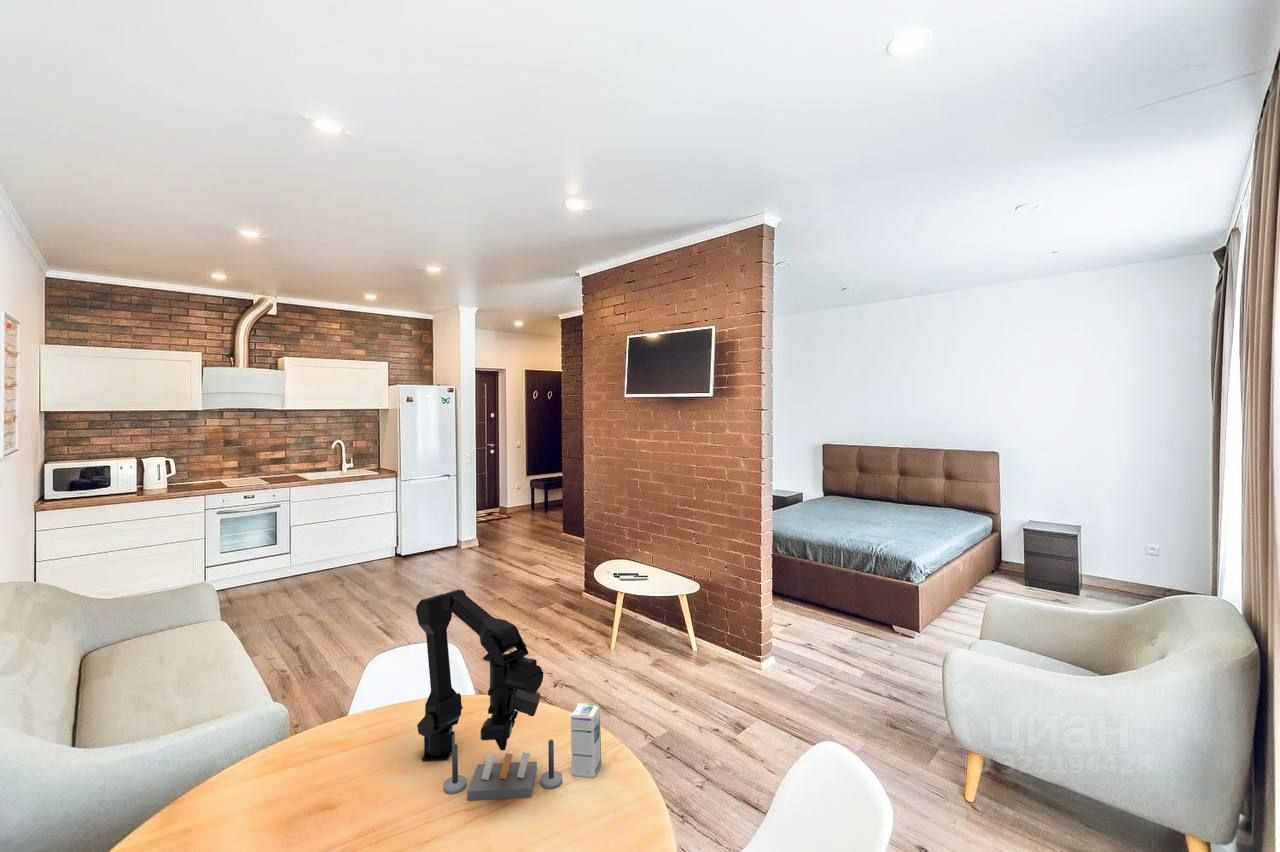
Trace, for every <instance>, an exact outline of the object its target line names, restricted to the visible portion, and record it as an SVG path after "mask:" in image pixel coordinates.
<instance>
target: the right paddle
mask: <svg viewBox="0 0 1280 852" xmlns="http://www.w3.org/2000/svg"><path fill="white" fill-rule="evenodd" d="M530 754H531V753H529V752H525V751H523V752H522V756H521V759H520V761H519V762H520V766H519V770H518V774H517V777H519V778H524V775H525V771H526V767H527V763H528V762H529V758H530Z"/></svg>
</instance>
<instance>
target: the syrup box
mask: <svg viewBox="0 0 1280 852" xmlns="http://www.w3.org/2000/svg"><path fill="white" fill-rule="evenodd" d="M600 707H601V706H600V705H598V704H594V703H578V704H577V706H576V707H575V708H574V710H573V712H572V713H571V714H570V739H571V741H570V742H571V743H570V744H571V746H570V747H571V774H572V776H576V777H583V778H591V779H592V778H593V779H594V778H596V775H597V774H598V772H599V770H600V767H601V765H602V748H601V747H602V741H601V739H602V738H601V711H600V710H601V708H600Z"/></svg>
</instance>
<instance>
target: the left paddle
mask: <svg viewBox="0 0 1280 852" xmlns="http://www.w3.org/2000/svg"><path fill="white" fill-rule="evenodd" d="M495 758H496V755H495V754H492V753H488V755H487V758H486V761H485V763H484V764H485V767H484V770H483V774H482V778H481V779H485V780H488V779H489V777H490V774H491V770H492V767H493V764H495Z"/></svg>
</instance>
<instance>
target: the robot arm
mask: <svg viewBox="0 0 1280 852" xmlns="http://www.w3.org/2000/svg"><path fill="white" fill-rule="evenodd" d="M415 614H416V617H417V623H418V626H419V627H420V628H421V630H423V631H424V632H425V633H424V634H425V637H426V648H427V660H428V671H429V685H430V693H429V695H428V698H427V700H426V702H425V704H424V705H425V707H424V708H425V709H424V716H423V718H422V719H421V720H420V721H419V722H418V723H417V725H416V728H417V732H418V734H419V735H421V736H423V737H424V738H423V740H424V741H423V747H424V748H423V751H424V753H423V756H422V757H421V761H424V762H425V761H426V762H427V761H444V760H445V761H446V760H448V759H449V758H450V756H451V755H452V746H453V745H454V744H456V737H455V734H456V731H454V730H453V728H454V726H455V725H458V724H459V720H460V717H461V715H462V710H463V709H464V708H463V704H462V695H461V693H459V692H456V690H455V689H454V688H453V687H452V686H453V685H452V676H451V674H452V673H451V665H450V654H449V642H448V630H447V629H449V628H448V627H449V625H450V623H451V621H452V619H453V614H454V615H455V616H456V617H457V618H458V619H460V621H462V622H463V623H465V624H466V625H467V626H468V627H469V628H470V629H471V630H472V631H474V632H475V633H476V634H477V635H478V636H479V643H480V645H481V646H482V647H483V648H484V650H485V651H486V653H487V654H486V655H484V656H483V658H482V659H483V661H487V662H489V689H488V691H487V696H488V697H489V707H488V709H487V714H488V715H490V714H491V717H488V718H487V719H485V721H483V724H482V727H480V728H481V729H480V740H481V741H495V743H496V744H497V746H498V748H499V750H500V751H506V748H507V745H508V740H509V739H510V738H511V734H512V732H513V731H512V730H513V728H514V726H515V722H516V719H517V717H518V714H519V713H523V714H525V715H527V716H529V717H534V716H535V715H536V712H537V710H538V706H539V704H540V700H541V698H542V697H541V694H540V692H538V690H539V689H540V687H541V685H542V683H543V679H544V671H543V669H542V667H541V666H540V665H538V664H537V659H534V658H528V657H525V656H528V655H529V650H528V649H527V645H526V643H525V641H524V640H523V637H522V636H521V633H520V631H519V629H518V627H517V626H516V625H515V624H513V623H511V622H510V621H508V620H505V619H501V618H497V617H494V616H492V615H491V614H490V613H488V612H487V611H486V610H485V609H483V608H482V607H481V606H480V605H479V604H478V603H476V602H475V601H474V600H472V599H471V598H470V597H469V596H468V595H467V594H466V592H465V590H463V589H456V590H451V591H448V592H446V593H440V594H437V595H434V596H430V597H427V598H423V599H420V600H419V601H418V604H416V607H415ZM514 649H515V650H514ZM511 650H513V651H511ZM509 651H510V652H509ZM506 652H508V653H506Z"/></svg>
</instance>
